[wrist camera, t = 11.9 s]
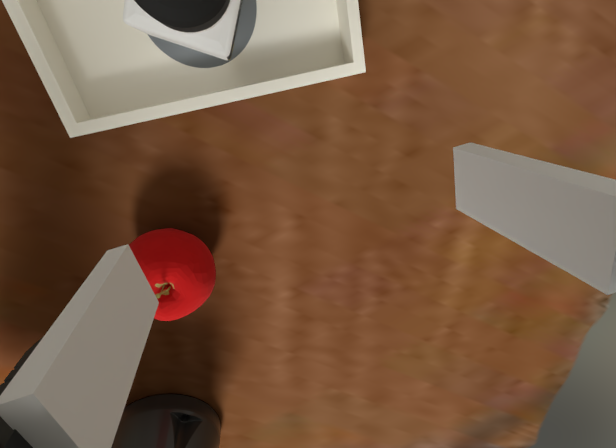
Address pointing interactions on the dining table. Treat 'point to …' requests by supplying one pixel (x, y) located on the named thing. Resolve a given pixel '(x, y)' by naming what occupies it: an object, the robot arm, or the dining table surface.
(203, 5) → the medicine bottle
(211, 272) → the fruit
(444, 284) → the dining table surface
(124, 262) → the robot arm
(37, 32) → the tray
